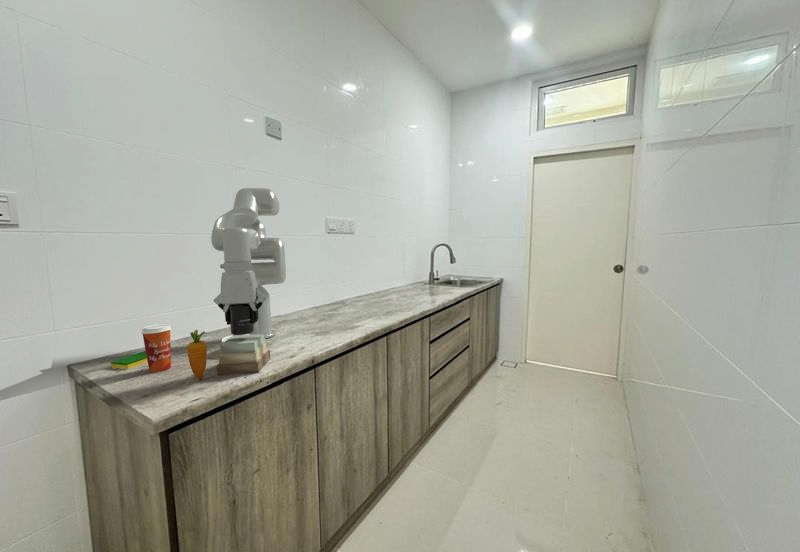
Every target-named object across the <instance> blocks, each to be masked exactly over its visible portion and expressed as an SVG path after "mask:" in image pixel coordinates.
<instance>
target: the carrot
mask: <svg viewBox="0 0 800 552" xmlns="http://www.w3.org/2000/svg"><path fill="white" fill-rule="evenodd" d="M198 333H199V330H198V329H195V330H194V332H193V331H192V332H190V336H191V338H192V339H193V341H191V342H190V343H188V344H187V347H186V348H187V349H186V350H187V357H188V362H189V365H190V368H191V372H192V373H193V375H194V376H195V378H196V379H197V380H200V381H201V380H202V378H203V377H204V375H205V372H206V368H207V362H208V348H207V345H208V344H207V343H206V341H205V340H201V338H202V336H204V334H206V331H205V330H204V331H202V332H201V333H200V334H198Z"/></svg>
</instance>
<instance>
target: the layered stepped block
mask: <svg viewBox="0 0 800 552" xmlns="http://www.w3.org/2000/svg"><path fill="white" fill-rule="evenodd" d="M268 346H269V344H268V342H267V341H266V339H265V334H254V335H234V336H232V337H231V338H229V339H228V340H226V341H225V342H223V343H222V342H221V344H219V347H220V348H219V349H220V353H219V354H218V364H217V365H216V369H217V371H216V372H217V375H218V376H219V375H221V376H222V375H234V374H235V375H236V374H237V373H239V374H255V373H254V372H256V373H260V372H261V370H262V369H264V367H265V366H266V364H268V362H269V361H270V360H271V350H269V347H268ZM237 375H238V374H237Z"/></svg>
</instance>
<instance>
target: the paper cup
mask: <svg viewBox="0 0 800 552" xmlns="http://www.w3.org/2000/svg"><path fill="white" fill-rule="evenodd" d="M171 329H172V327H171V325H170V324H169V323H156V324H150V325H147V326H146V325H145V326H144V327H142V330H141V332H140V333H141V334H142V338H143V343H144V349H145V350H144V351H146V356H147V361H148V362H147V366H148V371H149V372H150V373H159V372H164V371H168V370H169V369H171V367H172V351H171V350H172V347H171V346H172V345H171V341H172V340H171Z"/></svg>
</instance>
